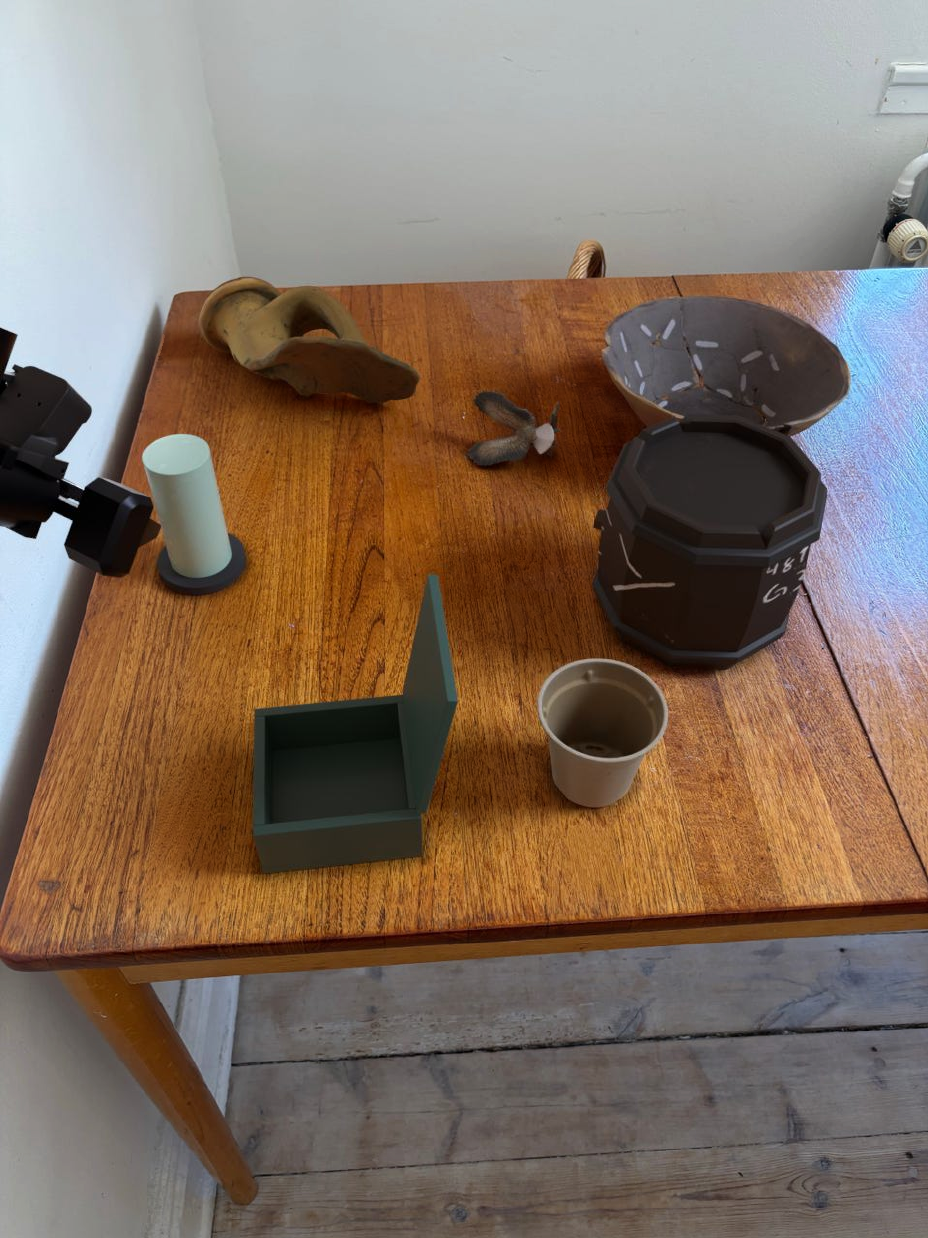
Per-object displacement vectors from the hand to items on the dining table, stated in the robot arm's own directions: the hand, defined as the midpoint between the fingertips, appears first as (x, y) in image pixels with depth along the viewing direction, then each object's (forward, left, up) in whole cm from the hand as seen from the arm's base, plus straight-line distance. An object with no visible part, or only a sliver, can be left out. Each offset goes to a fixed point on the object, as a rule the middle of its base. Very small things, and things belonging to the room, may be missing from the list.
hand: (115, 510), depth 82 cm
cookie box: (+11, -25, -12) cm, 30 cm away
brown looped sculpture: (+23, +30, -12) cm, 39 cm away
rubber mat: (+6, +5, -12) cm, 14 cm away
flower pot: (+30, -29, -12) cm, 44 cm away
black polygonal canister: (+46, -15, -12) cm, 50 cm away
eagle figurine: (+40, +11, -12) cm, 43 cm away
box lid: (+17, -26, 0) cm, 31 cm away
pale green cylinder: (+6, +5, -11) cm, 13 cm away
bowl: (+61, +7, -12) cm, 62 cm away
